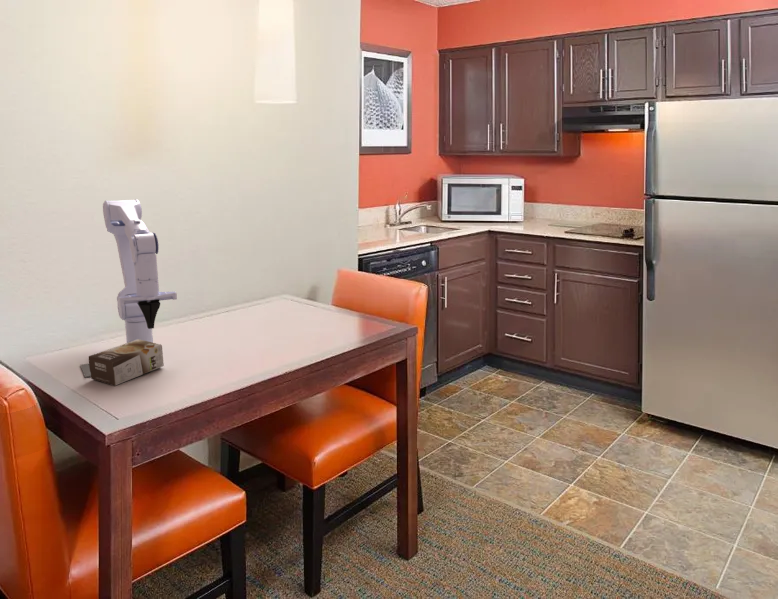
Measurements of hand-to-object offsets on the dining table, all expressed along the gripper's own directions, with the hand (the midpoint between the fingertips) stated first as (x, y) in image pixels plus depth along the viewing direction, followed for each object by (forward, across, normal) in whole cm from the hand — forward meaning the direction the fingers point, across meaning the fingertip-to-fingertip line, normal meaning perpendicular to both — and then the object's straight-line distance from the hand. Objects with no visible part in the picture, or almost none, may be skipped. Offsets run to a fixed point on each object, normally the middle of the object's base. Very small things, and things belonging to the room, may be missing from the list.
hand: (150, 327), depth 185 cm
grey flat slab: (+10, -11, +1) cm, 15 cm away
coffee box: (+6, -1, -2) cm, 7 cm away
